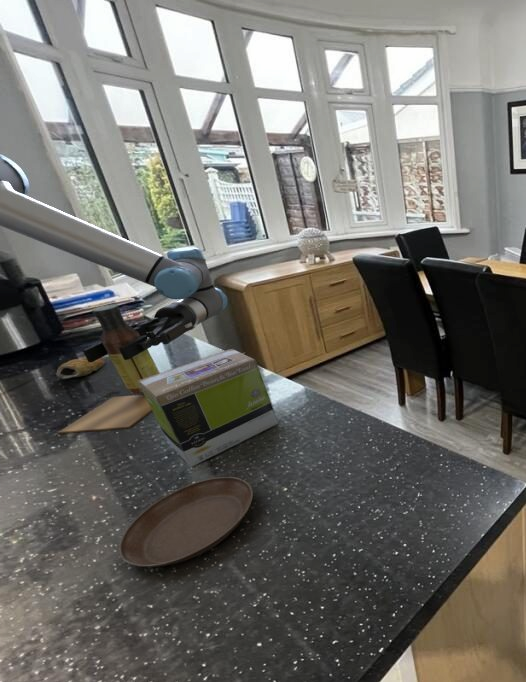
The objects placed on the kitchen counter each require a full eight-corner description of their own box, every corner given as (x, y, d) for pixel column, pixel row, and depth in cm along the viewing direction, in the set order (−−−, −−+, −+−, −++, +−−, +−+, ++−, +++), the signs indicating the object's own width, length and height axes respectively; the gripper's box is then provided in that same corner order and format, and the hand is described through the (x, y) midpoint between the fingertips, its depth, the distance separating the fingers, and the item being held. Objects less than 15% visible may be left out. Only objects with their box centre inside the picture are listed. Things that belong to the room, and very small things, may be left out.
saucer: (239, 560, 51) (232, 545, 50) (99, 594, 47) (89, 579, 46) (269, 480, 64) (264, 467, 63) (161, 502, 60) (154, 489, 59)
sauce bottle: (162, 378, 94) (127, 299, 86) (165, 387, 90) (129, 305, 82) (126, 388, 90) (86, 307, 82) (128, 399, 86) (85, 313, 78)
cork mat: (59, 433, 77) (58, 432, 77) (113, 398, 89) (113, 396, 89) (129, 428, 78) (128, 426, 78) (174, 394, 90) (173, 392, 90)
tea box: (256, 409, 83) (234, 346, 77) (279, 425, 78) (257, 358, 72) (169, 448, 72) (135, 378, 66) (189, 470, 66) (154, 395, 60)
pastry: (87, 363, 106) (81, 350, 105) (115, 361, 107) (109, 349, 105) (55, 380, 98) (47, 367, 96) (85, 378, 99) (78, 364, 97)
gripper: (224, 327, 104) (162, 367, 83) (147, 332, 103) (64, 374, 82) (214, 300, 101) (147, 335, 80) (135, 305, 100) (45, 341, 79)
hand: (105, 355), depth 81 cm, fingers closed on sauce bottle, 6 cm apart
